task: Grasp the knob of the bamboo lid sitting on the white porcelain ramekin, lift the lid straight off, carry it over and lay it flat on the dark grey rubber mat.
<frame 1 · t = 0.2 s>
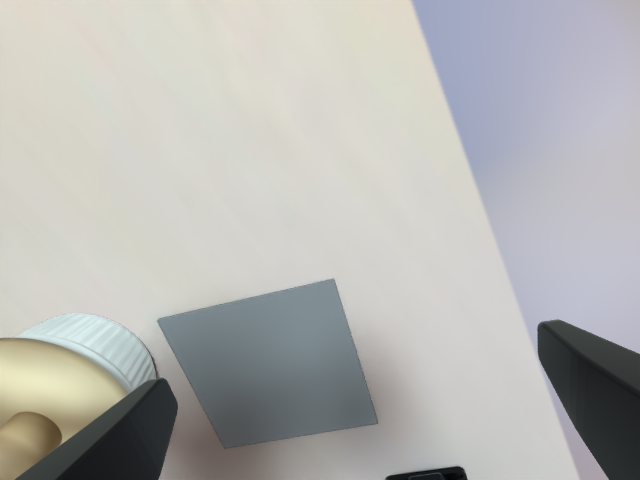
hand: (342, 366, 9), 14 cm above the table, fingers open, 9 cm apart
lid: (48, 417, 23), point 5 cm above the table, touching ramekin
mat: (273, 371, 27), on the table
ramekin: (100, 359, 28), on the table, touching lid
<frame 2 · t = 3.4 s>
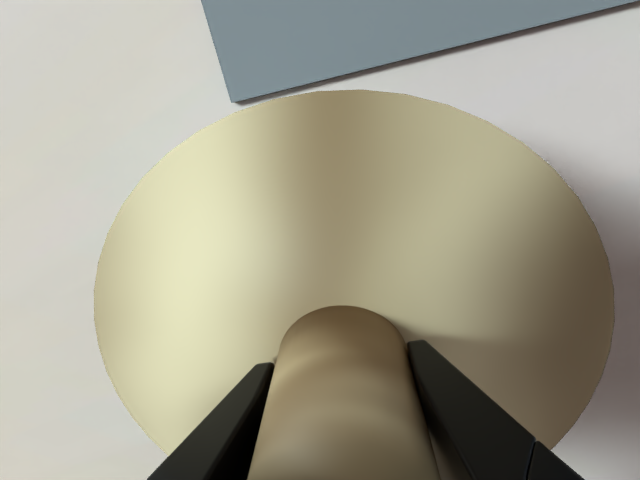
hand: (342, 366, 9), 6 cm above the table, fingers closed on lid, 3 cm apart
lid: (342, 336, 10), point 5 cm above the table, touching gripper, ramekin
when the fingers open (3 cm above the table, at t = 7.8 s): lid drops 1 cm, resting on mat.
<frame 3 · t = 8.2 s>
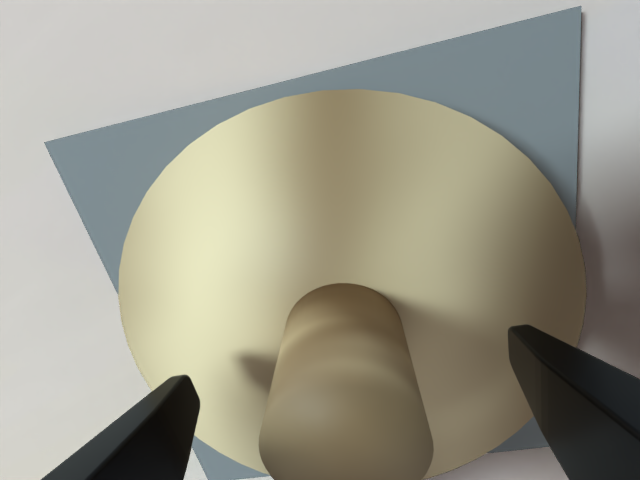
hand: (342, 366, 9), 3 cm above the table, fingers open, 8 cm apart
lid: (343, 314, 11), resting on mat
mat: (341, 307, 11), on the table
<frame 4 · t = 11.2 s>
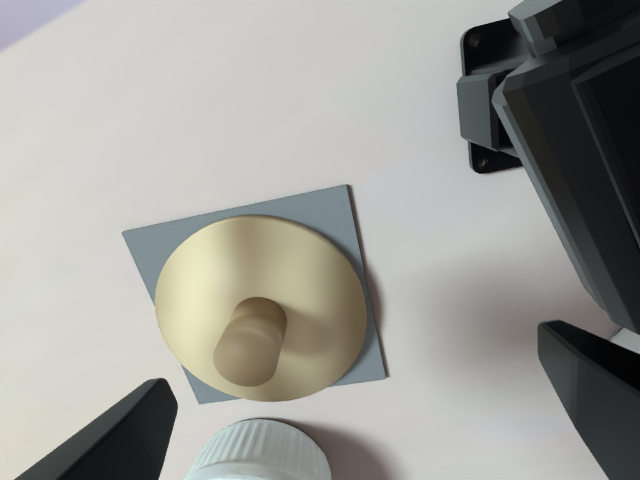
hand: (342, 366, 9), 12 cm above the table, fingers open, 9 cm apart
lid: (263, 311, 22), resting on mat
mat: (263, 307, 22), on the table
ramekin: (267, 458, 28), on the table
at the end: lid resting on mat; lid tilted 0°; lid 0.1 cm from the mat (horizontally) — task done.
